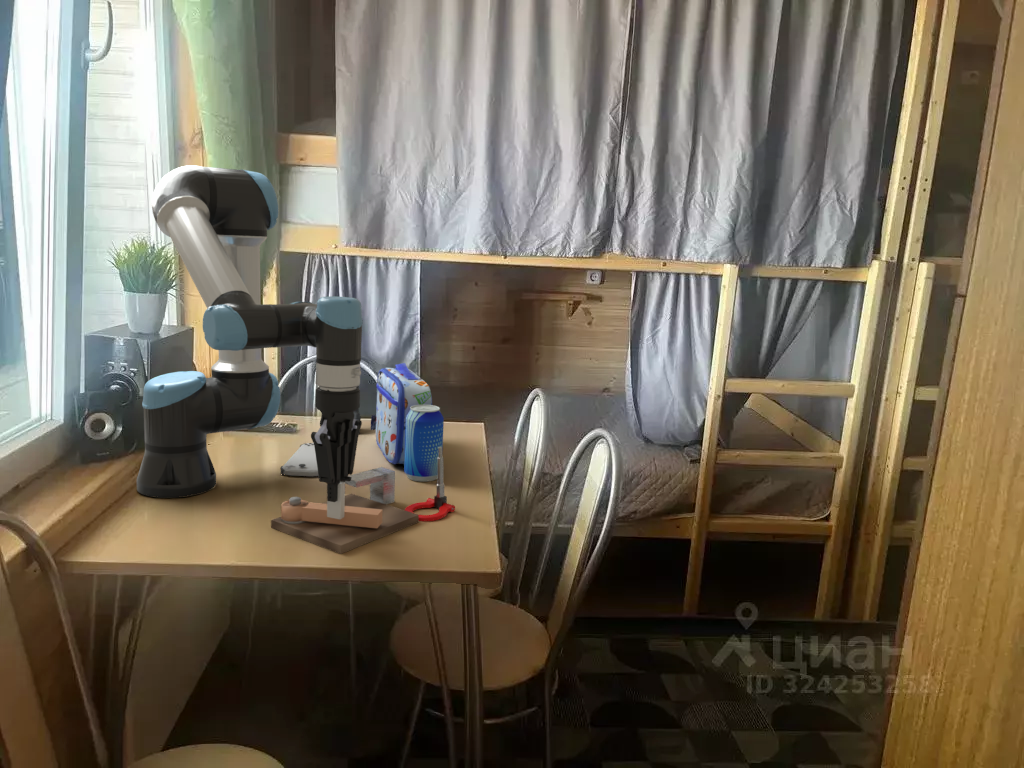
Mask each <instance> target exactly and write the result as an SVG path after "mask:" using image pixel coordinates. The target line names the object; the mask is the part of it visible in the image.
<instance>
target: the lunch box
mask: <svg viewBox="0 0 1024 768" xmlns="http://www.w3.org/2000/svg"><path fill="white" fill-rule="evenodd" d="M394 366H395V367H384V368H381V369H380V370H379V371H378V374H377V378H376V385H375V386H376V413H375V414H373V415H371V416H370V417H371V418H370V431H375V442H376V445H377V446H378V448H379V449H380V451H381V453H382V455H383V456H384V458H385V459H386V461H388V462H389V463H390V464H393V465H397V464H401V465H404V460H405V426H406V416H407V414H408V413H409V411H410V410H411V409H410V407H411V406H414V405H433V397H432V392H431V387H430V385H429V384H428V383H427V382H426V381H425V380H424V379H422V378H421V377H420V376H419V375H418V374H416V372H414V371H413V370H411V369H410V368H408V366H407V365H406V362H402V363H398V364H395V365H394Z"/></svg>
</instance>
